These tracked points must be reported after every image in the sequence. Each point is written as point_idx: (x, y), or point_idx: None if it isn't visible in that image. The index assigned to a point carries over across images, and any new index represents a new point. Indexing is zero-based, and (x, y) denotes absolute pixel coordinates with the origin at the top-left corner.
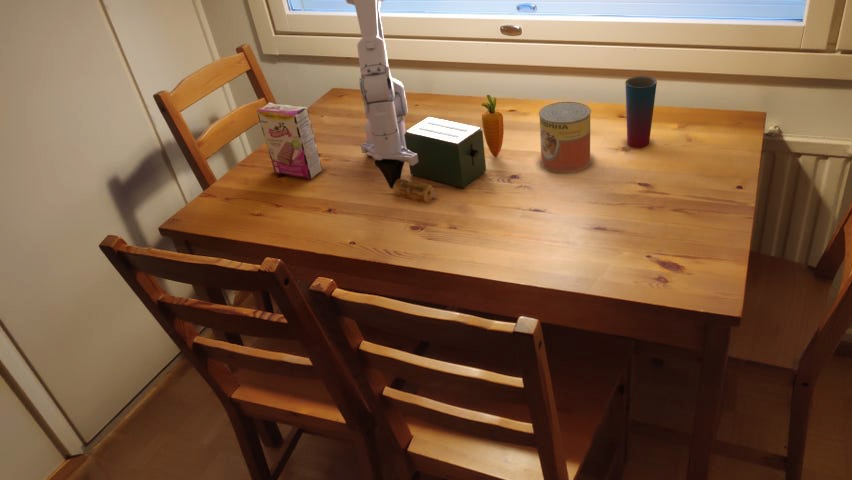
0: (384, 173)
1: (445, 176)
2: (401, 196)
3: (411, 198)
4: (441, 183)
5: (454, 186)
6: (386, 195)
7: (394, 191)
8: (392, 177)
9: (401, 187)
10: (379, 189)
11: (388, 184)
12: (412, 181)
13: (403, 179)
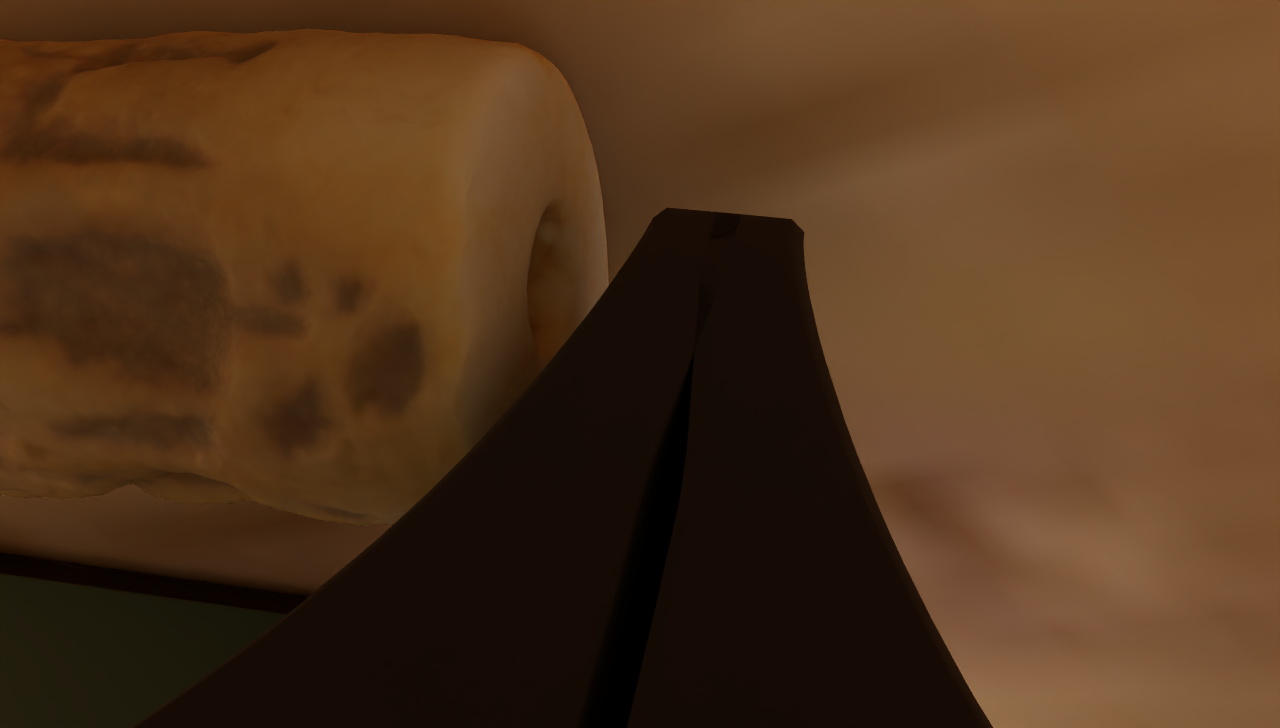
0: (769, 596)
1: (71, 705)
2: (295, 31)
3: (2, 39)
4: (270, 593)
5: (37, 567)
6: (907, 33)
7: (427, 72)
8: (440, 481)
9: (152, 216)
10: (1274, 206)
11: (794, 286)
12: (49, 481)
13: (319, 504)
